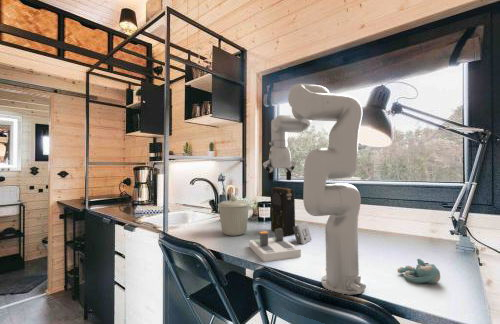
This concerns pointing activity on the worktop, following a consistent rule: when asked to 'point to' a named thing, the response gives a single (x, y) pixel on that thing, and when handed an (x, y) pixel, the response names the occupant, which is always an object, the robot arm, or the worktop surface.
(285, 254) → the white slotted tray
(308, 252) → the worktop surface
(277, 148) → the robot arm
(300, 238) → the electrical switch
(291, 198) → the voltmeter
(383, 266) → the worktop surface
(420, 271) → the stuffed animal
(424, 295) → the worktop surface
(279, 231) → the block
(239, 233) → the canister
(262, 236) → the block
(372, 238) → the worktop surface
